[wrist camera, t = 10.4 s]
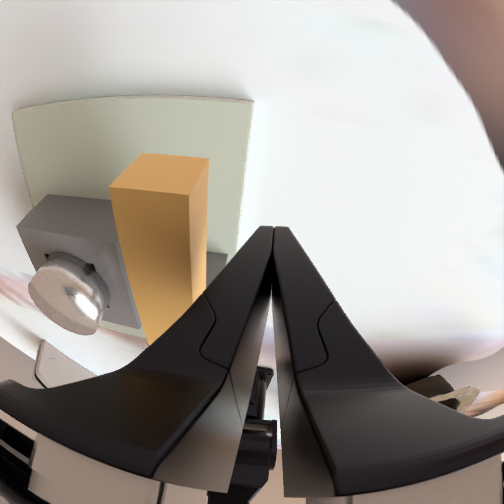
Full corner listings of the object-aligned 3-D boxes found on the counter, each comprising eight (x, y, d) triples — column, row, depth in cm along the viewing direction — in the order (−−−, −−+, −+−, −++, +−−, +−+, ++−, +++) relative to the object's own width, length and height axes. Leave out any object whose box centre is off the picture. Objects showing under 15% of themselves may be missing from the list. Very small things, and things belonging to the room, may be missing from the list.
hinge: (38, 343, 40) (22, 384, 32) (47, 332, 40) (29, 376, 31) (106, 388, 48) (100, 429, 40) (118, 380, 48) (113, 424, 39)
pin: (136, 276, 22) (106, 342, 17) (81, 265, 22) (47, 323, 17) (124, 220, 18) (80, 290, 14) (64, 212, 18) (16, 272, 14)
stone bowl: (296, 415, 44) (294, 463, 36) (375, 332, 29) (390, 407, 21) (406, 418, 46) (411, 457, 38) (494, 347, 31) (512, 396, 23)
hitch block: (227, 346, 30) (215, 416, 24) (86, 315, 30) (60, 372, 24) (254, 101, 14) (228, 157, 8) (20, 108, 14) (-61, 160, 8)
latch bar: (212, 367, 16) (206, 398, 14) (168, 359, 16) (160, 389, 14) (220, 159, 8) (202, 196, 6) (132, 152, 8) (98, 186, 6)
